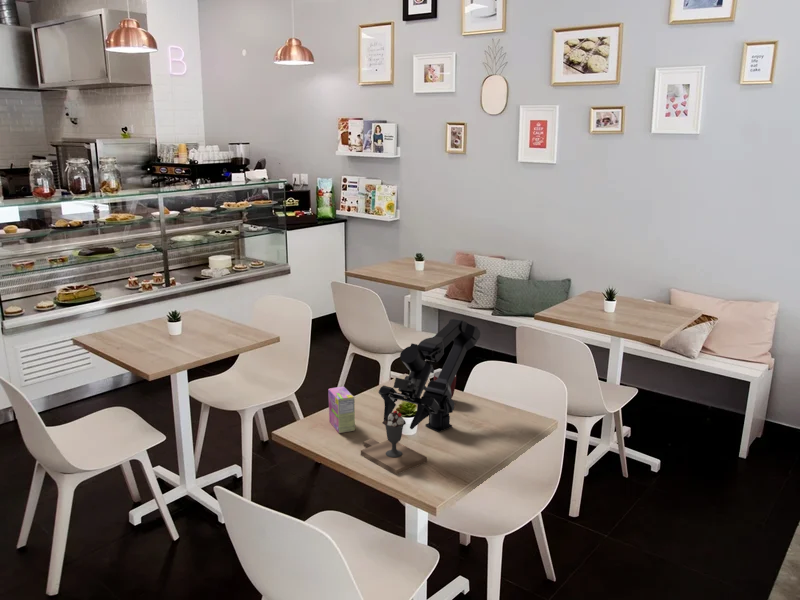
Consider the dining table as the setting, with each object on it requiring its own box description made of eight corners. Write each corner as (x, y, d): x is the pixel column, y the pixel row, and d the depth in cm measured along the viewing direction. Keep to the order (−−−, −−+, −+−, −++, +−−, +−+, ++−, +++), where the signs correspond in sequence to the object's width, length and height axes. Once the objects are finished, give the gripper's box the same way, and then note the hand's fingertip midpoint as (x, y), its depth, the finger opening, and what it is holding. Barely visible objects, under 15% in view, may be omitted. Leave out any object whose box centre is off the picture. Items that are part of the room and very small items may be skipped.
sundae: (410, 453, 196) (410, 406, 193) (393, 461, 191) (394, 412, 188) (394, 446, 201) (394, 400, 197) (378, 453, 196) (378, 406, 192)
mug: (444, 409, 233) (445, 382, 230) (425, 404, 237) (425, 377, 235) (459, 400, 241) (460, 374, 239) (440, 395, 245) (441, 369, 243)
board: (352, 450, 201) (352, 445, 201) (382, 439, 209) (382, 434, 209) (396, 474, 187) (396, 470, 186) (426, 461, 195) (426, 457, 194)
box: (328, 421, 222) (328, 388, 219) (344, 418, 224) (344, 385, 221) (338, 434, 212) (337, 399, 209) (355, 431, 214) (354, 396, 212)
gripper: (381, 360, 201) (360, 406, 195) (435, 372, 191) (414, 421, 185) (396, 377, 209) (375, 421, 203) (447, 389, 200) (428, 437, 193)
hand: (397, 425), depth 196 cm, fingers open, 9 cm apart
